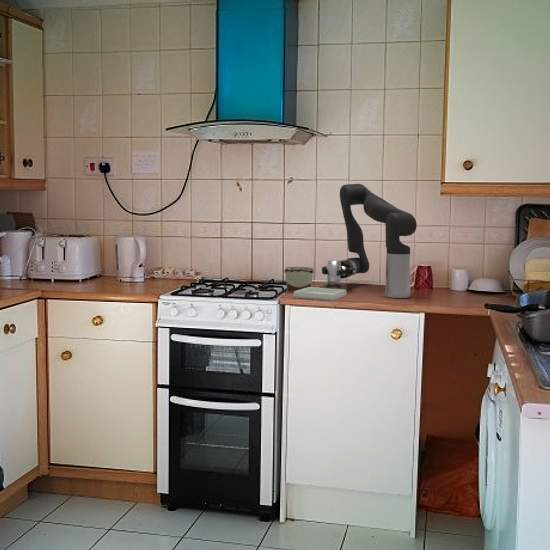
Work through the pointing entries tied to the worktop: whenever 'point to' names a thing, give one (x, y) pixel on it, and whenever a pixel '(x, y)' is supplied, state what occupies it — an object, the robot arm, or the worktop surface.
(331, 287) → the socket block
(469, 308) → the worktop surface
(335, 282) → the grey metallic cylinder
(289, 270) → the food container
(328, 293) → the tray
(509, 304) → the worktop surface
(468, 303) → the worktop surface
